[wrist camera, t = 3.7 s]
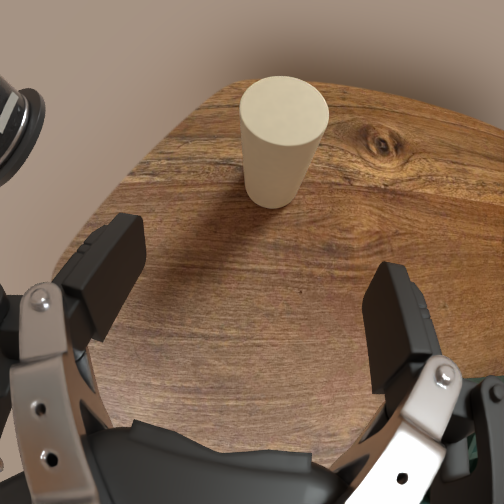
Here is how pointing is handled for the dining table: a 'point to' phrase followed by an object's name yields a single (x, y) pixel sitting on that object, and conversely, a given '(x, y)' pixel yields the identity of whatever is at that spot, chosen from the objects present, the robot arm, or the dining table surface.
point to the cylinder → (279, 137)
